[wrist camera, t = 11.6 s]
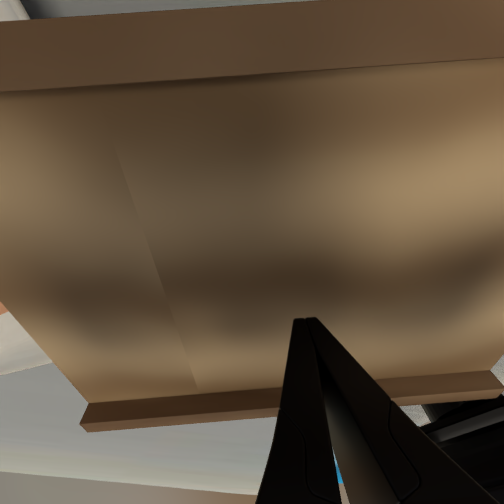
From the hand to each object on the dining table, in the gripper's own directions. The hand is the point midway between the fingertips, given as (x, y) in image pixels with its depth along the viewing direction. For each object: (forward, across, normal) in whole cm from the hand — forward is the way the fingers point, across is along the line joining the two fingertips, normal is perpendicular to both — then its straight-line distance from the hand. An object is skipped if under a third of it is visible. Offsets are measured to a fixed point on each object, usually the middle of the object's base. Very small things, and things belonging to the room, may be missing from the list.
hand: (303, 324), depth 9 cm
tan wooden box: (+9, 0, -1) cm, 9 cm away
